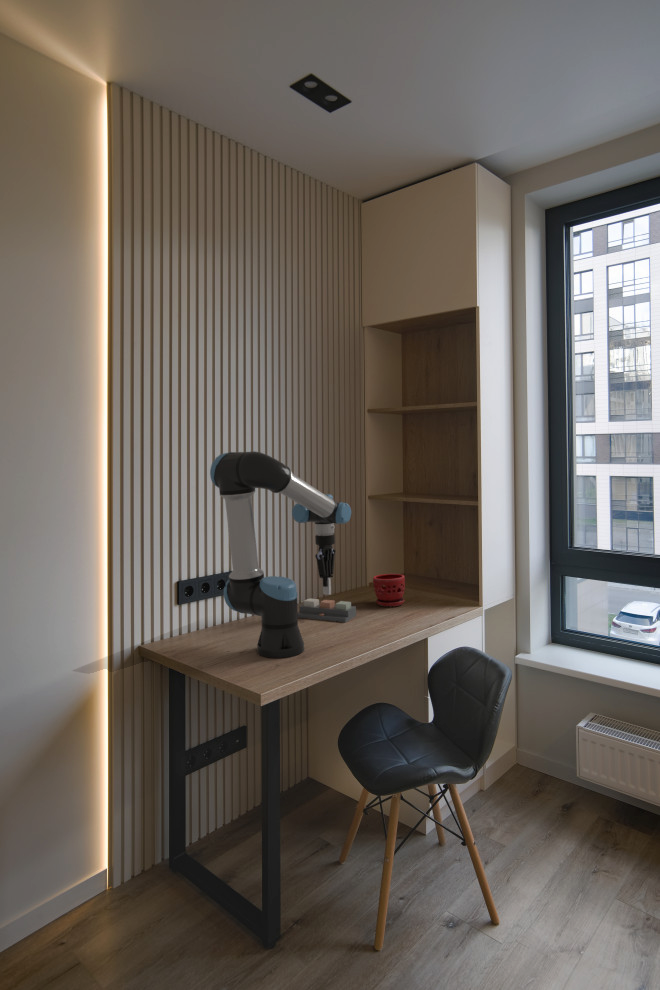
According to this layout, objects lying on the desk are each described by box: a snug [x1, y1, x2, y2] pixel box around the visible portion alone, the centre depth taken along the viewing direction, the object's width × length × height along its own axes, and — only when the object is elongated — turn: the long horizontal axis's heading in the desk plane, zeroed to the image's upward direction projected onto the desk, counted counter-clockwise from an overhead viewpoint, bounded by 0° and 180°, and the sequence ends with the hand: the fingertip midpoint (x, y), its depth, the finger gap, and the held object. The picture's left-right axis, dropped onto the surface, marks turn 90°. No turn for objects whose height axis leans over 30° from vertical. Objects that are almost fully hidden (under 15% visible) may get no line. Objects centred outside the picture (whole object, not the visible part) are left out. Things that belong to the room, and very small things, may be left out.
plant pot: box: [372, 573, 406, 608], centre depth 254 cm, size 13×13×12 cm
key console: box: [298, 602, 357, 623], centre depth 238 cm, size 10×21×4 cm, turn 63°
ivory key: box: [303, 598, 320, 607], centre depth 242 cm, size 4×4×3 cm
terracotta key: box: [319, 599, 336, 609], centre depth 239 cm, size 4×4×3 cm
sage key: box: [335, 600, 352, 610], centre depth 236 cm, size 4×4×3 cm
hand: (327, 594), depth 239 cm, fingers closed
